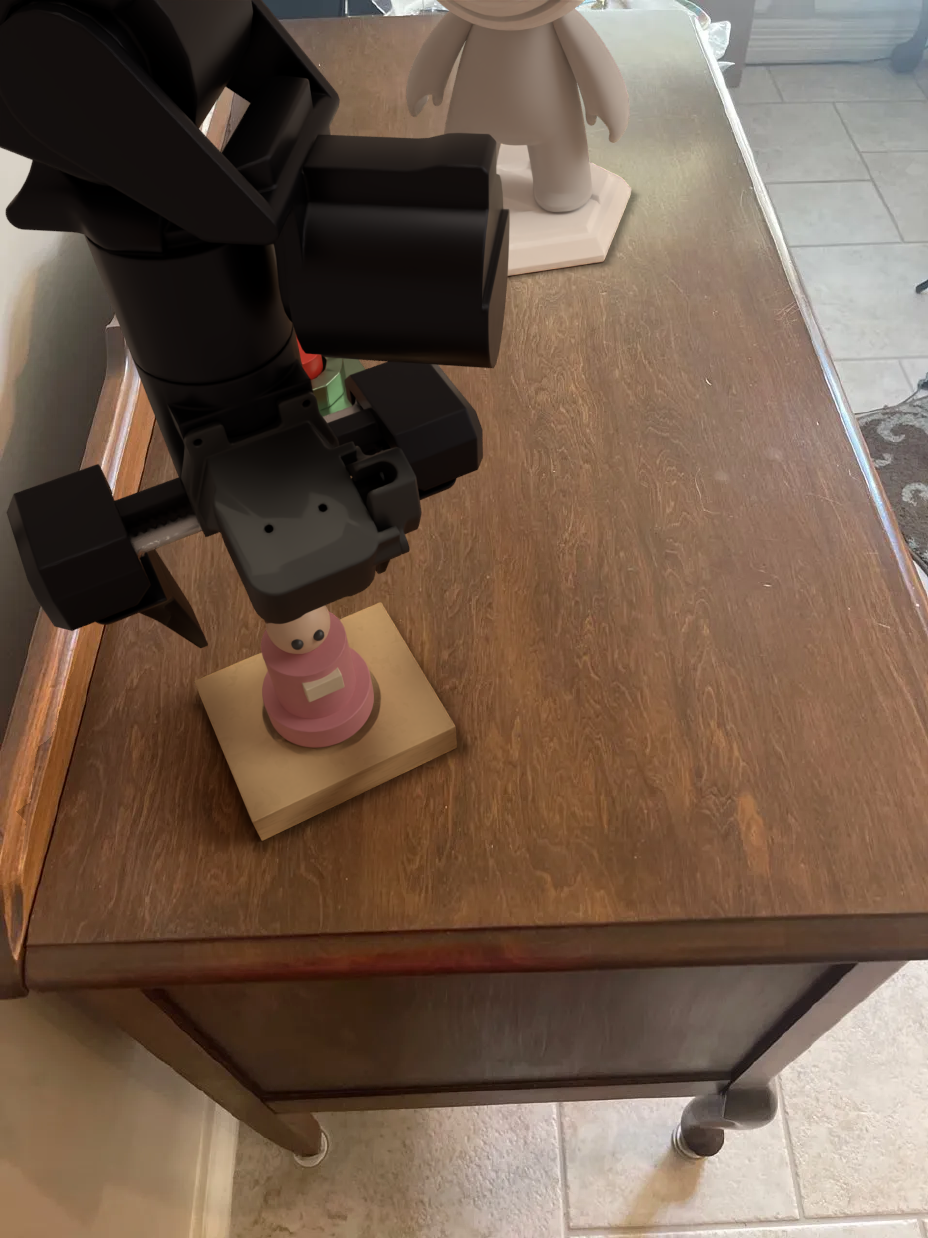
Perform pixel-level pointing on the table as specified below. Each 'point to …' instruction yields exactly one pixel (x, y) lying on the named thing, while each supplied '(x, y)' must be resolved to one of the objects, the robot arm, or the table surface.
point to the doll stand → (326, 776)
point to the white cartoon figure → (533, 119)
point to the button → (311, 363)
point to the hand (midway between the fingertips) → (292, 602)
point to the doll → (314, 680)
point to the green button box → (334, 384)
